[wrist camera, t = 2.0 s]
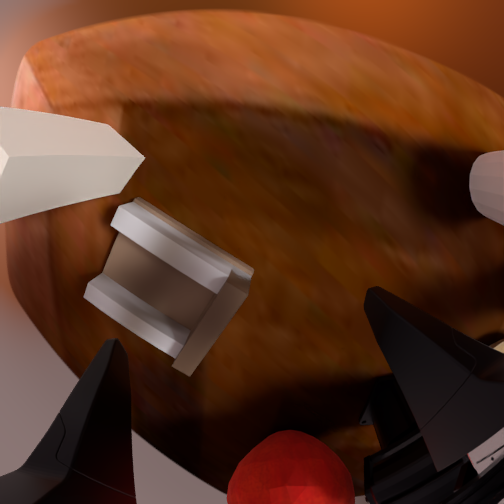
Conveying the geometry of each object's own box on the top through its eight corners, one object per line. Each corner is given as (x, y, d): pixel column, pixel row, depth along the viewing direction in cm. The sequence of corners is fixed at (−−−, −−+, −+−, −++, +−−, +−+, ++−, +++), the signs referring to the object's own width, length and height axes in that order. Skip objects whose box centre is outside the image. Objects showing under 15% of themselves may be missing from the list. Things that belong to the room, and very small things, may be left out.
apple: (305, 473, 28) (310, 560, 16) (218, 453, 28) (200, 549, 15) (363, 421, 25) (391, 525, 12) (262, 394, 25) (256, 523, 12)
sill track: (254, 269, 21) (250, 290, 17) (199, 349, 24) (188, 378, 20) (139, 197, 20) (113, 203, 16) (100, 285, 22) (75, 305, 19)
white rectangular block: (145, 157, 19) (9, 156, 7) (119, 193, 20) (-16, 229, 8) (108, 124, 19) (-26, 104, 6) (85, 159, 20) (-49, 169, 7)
